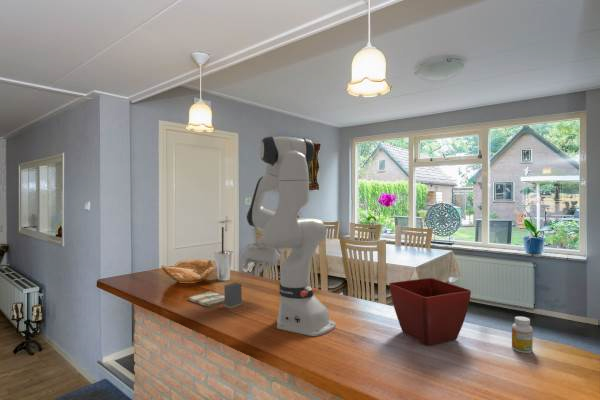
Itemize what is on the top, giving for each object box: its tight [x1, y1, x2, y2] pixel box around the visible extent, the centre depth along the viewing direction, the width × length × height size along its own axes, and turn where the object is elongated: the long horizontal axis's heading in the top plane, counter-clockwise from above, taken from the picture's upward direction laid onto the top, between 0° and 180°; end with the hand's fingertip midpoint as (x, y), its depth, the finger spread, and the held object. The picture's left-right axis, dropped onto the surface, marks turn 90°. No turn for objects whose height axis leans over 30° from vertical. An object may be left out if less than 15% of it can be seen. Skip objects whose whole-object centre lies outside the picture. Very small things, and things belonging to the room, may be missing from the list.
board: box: [187, 290, 225, 308], centre depth 160 cm, size 16×12×1 cm
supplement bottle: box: [511, 316, 534, 354], centre depth 109 cm, size 5×5×10 cm
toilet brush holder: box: [214, 226, 234, 282], centre depth 196 cm, size 11×11×30 cm
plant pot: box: [388, 277, 472, 346], centre depth 119 cm, size 19×19×17 cm
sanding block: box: [224, 282, 243, 309], centre depth 152 cm, size 4×6×9 cm
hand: (251, 270), depth 160 cm, fingers open, 8 cm apart
